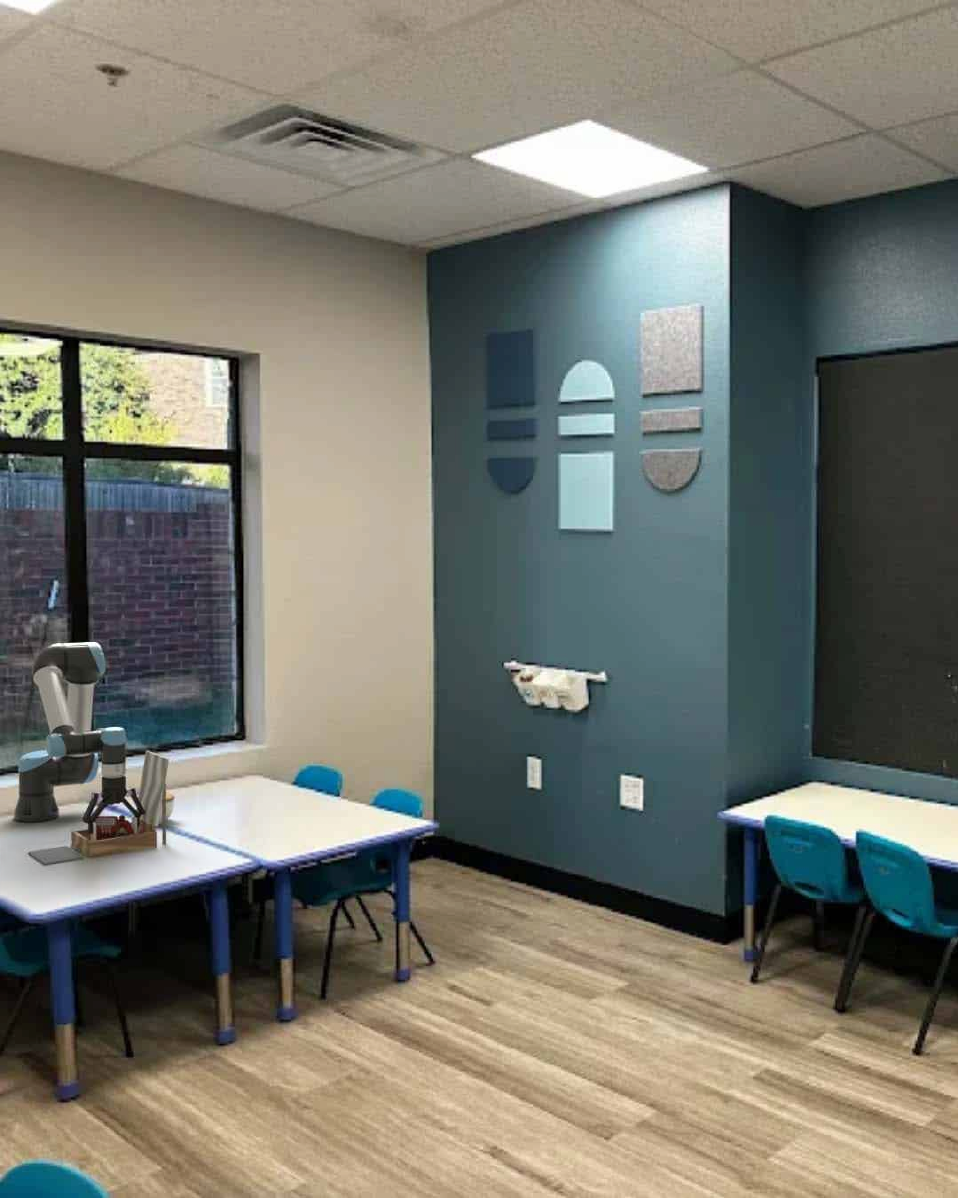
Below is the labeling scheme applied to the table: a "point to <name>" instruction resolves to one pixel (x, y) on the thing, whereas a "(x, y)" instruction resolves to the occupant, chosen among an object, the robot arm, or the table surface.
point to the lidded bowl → (167, 806)
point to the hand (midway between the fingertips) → (114, 840)
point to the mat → (55, 855)
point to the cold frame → (151, 801)
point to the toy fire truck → (112, 827)
